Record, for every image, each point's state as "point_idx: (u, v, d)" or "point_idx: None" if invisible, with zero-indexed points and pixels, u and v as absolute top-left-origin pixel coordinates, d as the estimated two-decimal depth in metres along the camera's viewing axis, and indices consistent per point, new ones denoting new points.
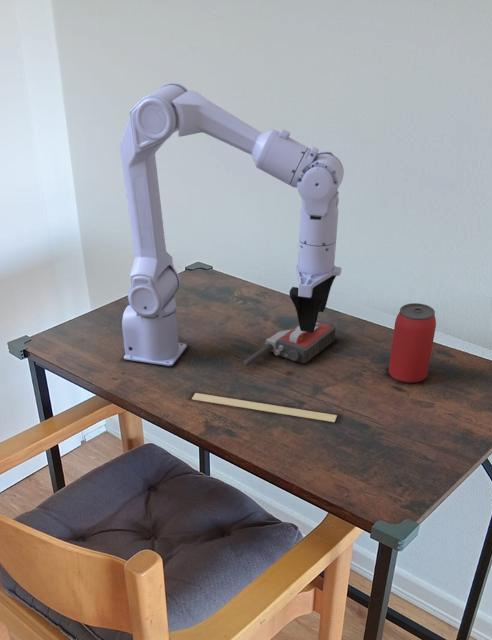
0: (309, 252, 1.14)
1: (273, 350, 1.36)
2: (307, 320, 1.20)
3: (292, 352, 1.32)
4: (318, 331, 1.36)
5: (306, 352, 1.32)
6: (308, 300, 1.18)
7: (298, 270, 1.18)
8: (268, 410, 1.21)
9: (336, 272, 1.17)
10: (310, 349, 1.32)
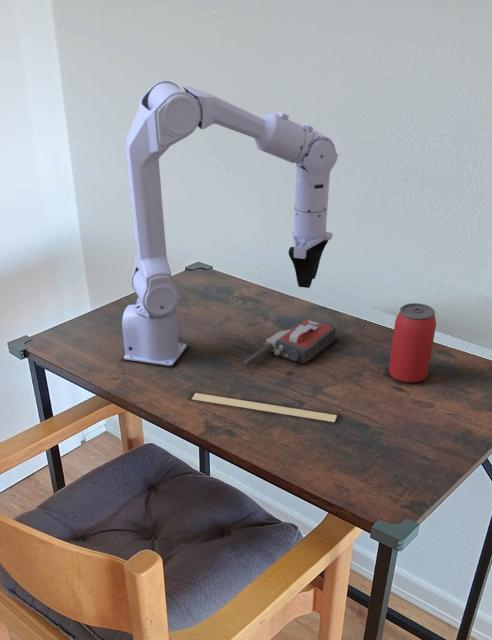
0: (303, 218, 1.28)
1: (273, 350, 1.36)
2: (304, 277, 1.35)
3: (292, 352, 1.32)
4: (318, 331, 1.36)
5: (306, 352, 1.32)
6: (305, 258, 1.33)
7: (293, 235, 1.31)
8: (268, 410, 1.21)
9: (327, 237, 1.31)
10: (310, 349, 1.32)
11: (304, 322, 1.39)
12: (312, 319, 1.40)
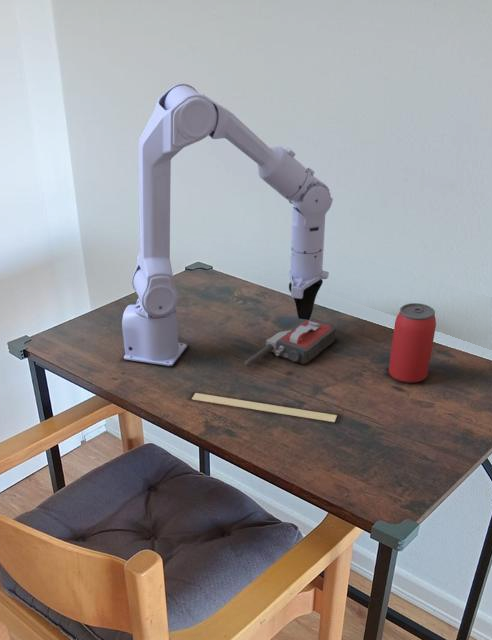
0: (300, 259, 1.31)
1: (273, 351, 1.36)
2: (304, 309, 1.40)
3: (293, 352, 1.32)
4: (318, 331, 1.36)
5: (307, 352, 1.32)
6: (305, 292, 1.37)
7: (291, 274, 1.35)
8: (268, 410, 1.21)
9: (324, 276, 1.34)
10: (310, 349, 1.32)
11: (304, 322, 1.39)
12: (312, 319, 1.40)
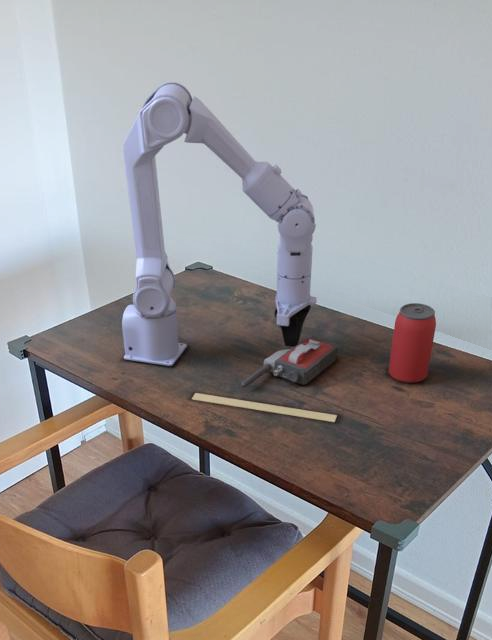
0: (286, 284, 1.25)
1: (272, 370, 1.30)
2: (291, 336, 1.33)
3: (292, 373, 1.26)
4: (319, 350, 1.30)
5: (306, 373, 1.26)
6: (291, 318, 1.31)
7: (277, 300, 1.28)
8: (268, 410, 1.21)
9: (311, 302, 1.27)
10: (311, 370, 1.27)
11: (304, 341, 1.34)
12: (313, 337, 1.34)
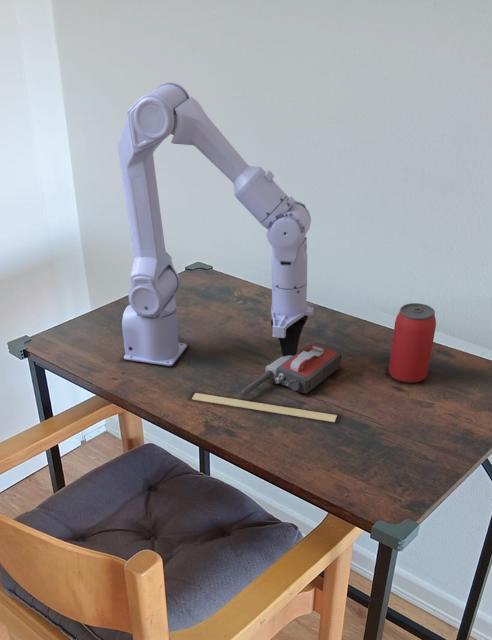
0: (282, 295, 1.21)
1: (274, 377, 1.28)
2: (289, 346, 1.29)
3: (293, 382, 1.24)
4: (322, 357, 1.27)
5: (308, 382, 1.23)
6: (288, 328, 1.27)
7: (272, 311, 1.24)
8: (268, 410, 1.21)
9: (308, 312, 1.23)
10: (312, 378, 1.24)
11: (308, 346, 1.31)
12: (317, 343, 1.31)
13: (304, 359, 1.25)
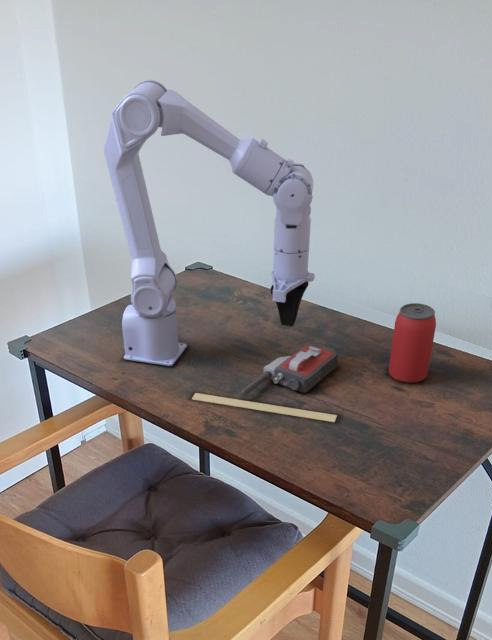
0: (283, 259, 1.20)
1: (272, 378, 1.28)
2: (287, 315, 1.28)
3: (292, 381, 1.24)
4: (320, 357, 1.28)
5: (307, 381, 1.24)
6: (288, 296, 1.26)
7: (273, 276, 1.23)
8: (268, 410, 1.21)
9: (309, 278, 1.22)
10: (311, 377, 1.25)
11: (305, 347, 1.32)
12: (313, 344, 1.32)
13: (302, 359, 1.25)
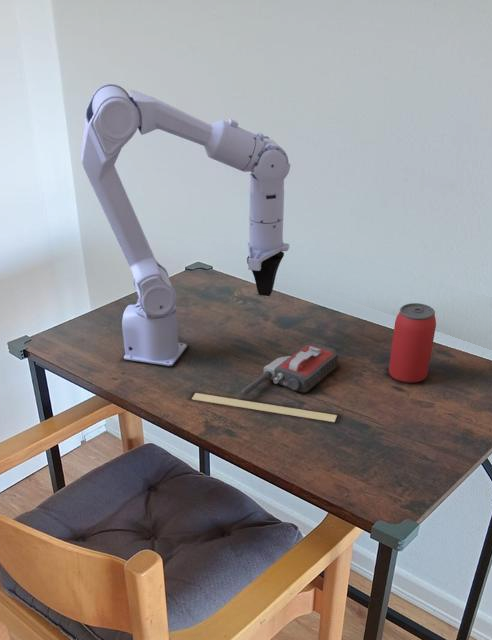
0: (258, 229, 1.25)
1: (272, 378, 1.28)
2: (264, 285, 1.32)
3: (292, 381, 1.24)
4: (320, 357, 1.28)
5: (307, 381, 1.24)
6: (264, 266, 1.30)
7: (249, 246, 1.28)
8: (268, 410, 1.21)
9: (284, 248, 1.27)
10: (311, 377, 1.25)
11: (305, 347, 1.32)
12: (313, 344, 1.32)
13: (302, 359, 1.25)
